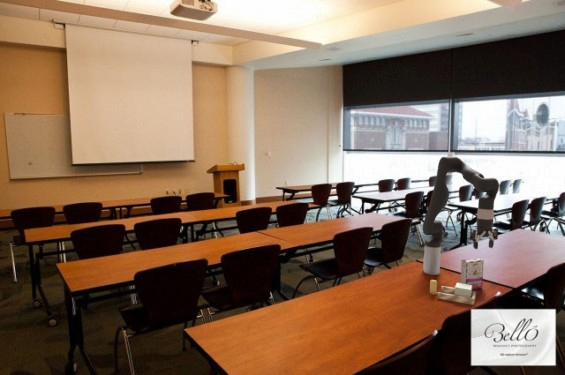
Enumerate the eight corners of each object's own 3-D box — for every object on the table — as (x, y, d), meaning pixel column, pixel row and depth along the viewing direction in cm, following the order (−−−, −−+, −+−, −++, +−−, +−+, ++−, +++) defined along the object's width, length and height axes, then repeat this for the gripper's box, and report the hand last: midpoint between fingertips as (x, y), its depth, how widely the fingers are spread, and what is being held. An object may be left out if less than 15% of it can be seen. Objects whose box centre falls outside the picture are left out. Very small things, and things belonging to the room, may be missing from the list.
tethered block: (428, 295, 219) (428, 282, 218) (431, 290, 226) (431, 278, 225) (469, 302, 209) (470, 289, 208) (471, 297, 216) (472, 285, 215)
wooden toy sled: (437, 298, 215) (438, 292, 215) (441, 290, 225) (441, 285, 224) (473, 304, 207) (473, 299, 206) (475, 297, 216) (476, 291, 216)
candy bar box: (476, 285, 233) (477, 257, 231) (482, 288, 228) (484, 260, 226) (459, 287, 230) (461, 259, 228) (465, 290, 225) (467, 262, 223)
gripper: (492, 215, 211) (490, 245, 213) (467, 216, 208) (466, 247, 211) (502, 218, 204) (500, 249, 206) (477, 219, 201) (475, 251, 204)
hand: (483, 248), depth 208 cm, fingers open, 8 cm apart
